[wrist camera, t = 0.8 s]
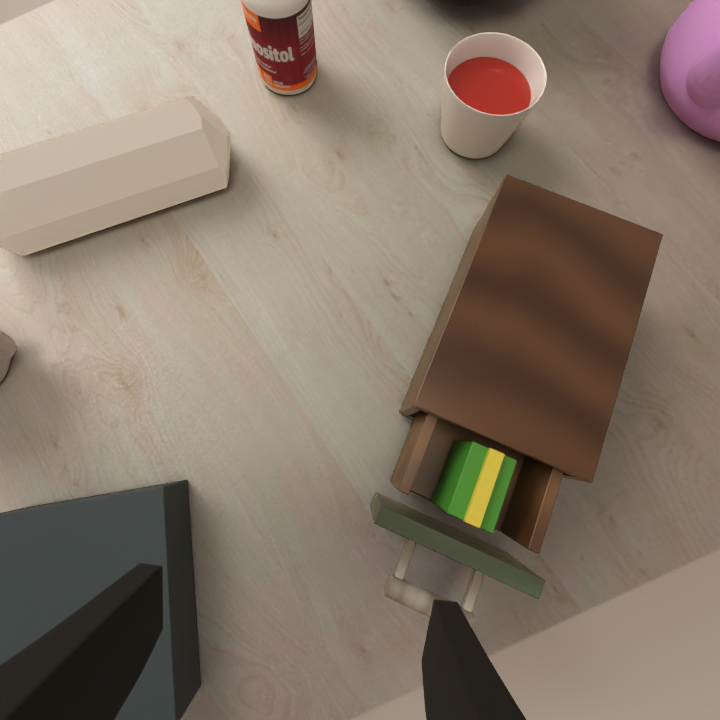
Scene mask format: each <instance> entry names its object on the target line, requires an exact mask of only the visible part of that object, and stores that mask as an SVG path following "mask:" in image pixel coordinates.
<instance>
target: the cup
mask: <svg viewBox="0 0 720 720" xmlns="http://www.w3.org/2000/svg"><path fill="white" fill-rule="evenodd" d="M17 348H18V347H17V345H16V343H15V341H14V340H13V339H11V338H10V337H8V336H6V335H3V334H2V333H1V332H0V382H1V381H2V380H3V378H4V377H5V376H6V373H7V371H8V369H9V367H10V362H11V357H12V356H13V354H14V353H15V351H16V350H17Z"/></svg>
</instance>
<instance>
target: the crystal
mask: <svg viewBox="0 0 720 720" xmlns="http://www.w3.org/2000/svg"><path fill="white" fill-rule="evenodd" d="M230 145H231V143H230V132H229V131H228V129H227V128H226V126H225V125H224V123H223V122H222V120H221V119H220V118H219V117H218V116H217V115H215V114H214V113H213V112H212V111H210V110H209V109H208V108H207V107H206V106H204V105H203V104H202V103H201V102H200V101H198V100H197V99H196V98H195V97H193V96H191V97H186V98H183V99H179V100H176V101H173V102H170V103H166V104H163V105H160V106H157V107H153V108H150V109H147V110H144V111H140V112H137V113H134V114H131V115H127V116H124V117H121V118H117V119H114V120H111V121H108V122H104V123H101V124H98V125H95V126H91V127H88V128H85V129H82V130H78V131H75V132H72V133H69V134H65V135H62V136H59V137H56V138H52V139H49V140H46V141H43V142H39V143H36V144H33V145H30V146H26V147H23V148H20V149H17V150H13V151H10V152H7V153H4V154H0V247H2V248H4V249H6V250H9V251H11V252H14V253H16V254H18V255H21V256H25V255H28V254H31V253H34V252H37V251H40V250H43V249H46V248H49V247H52V246H55V245H58V244H61V243H64V242H67V241H70V240H73V239H76V238H78V237H81V236H84V235H87V234H90V233H93V232H96V231H99V230H102V229H105V228H108V227H111V226H114V225H117V224H120V223H123V222H126V221H129V220H132V219H135V218H138V217H141V216H144V215H147V214H150V213H153V212H156V211H159V210H162V209H165V208H168V207H171V206H174V205H177V204H180V203H183V202H186V201H189V200H192V199H194V198H197V197H200V196H203V195H206V194H209V193H212V192H215V191H218V190H221V189H224V188H227V185H228V180H229V166H230Z"/></svg>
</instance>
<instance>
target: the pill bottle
mask: <svg viewBox="0 0 720 720" xmlns="http://www.w3.org/2000/svg"><path fill="white" fill-rule="evenodd" d="M241 2H242V6H243V10H244V14H245V18H246V22H247V26H248V30H249V34H250V38H251V42H252V46H253V50H254V54H255V58H256V62H257V66H258V70H259V73H260V77H261V79H262V81H263V83H264V84H265V85H266V86H267V87H268V88H269V89H270V90H272V91H274V92H276V93H279V94H283V95H294V94H299V93H302V92H304V91H305V90H307V89H308V88H309V87H310V86H311V85H312V84H313V82H314V80H315V78H316V74H317V60H316V49H315V37H314V26H313V15H312V4H311V0H241Z"/></svg>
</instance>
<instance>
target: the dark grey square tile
mask: <svg viewBox="0 0 720 720" xmlns="http://www.w3.org/2000/svg"><path fill="white" fill-rule="evenodd" d="M139 563H144V564H152V565H160V566H163V630H162V632H161V634H160V636H159V638H158V640H157V642H156V644H155V647H154V649H153V651H152V653H151V655H150V657H149V659H148V661H147V663H146V665H145V667H144V669H143V671H142V673H141V675H140V677H139V679H138V680H137V682H136V684H135V686H134V687H133V689H132V691H131V692H130V694H129V696H128V697H127V699H126V701H125V702H124V704H123V706H122V707H121V709H120V711H119V713H118V714H117V716H116V718H115V719H114V720H180V719H181V717H182V716H183V714H184V712H185V711H186V709H187V707H188V706H189V704H190V703H191V701H192V699H193V698H194V696H195V694H196V693H197V691H198V689H199V688H200V686H201V679H200V664H199V649H198V634H197V618H196V603H195V588H194V573H193V557H192V542H191V527H190V512H189V497H188V481H187V480H184V481H178V482H172V483H166V484H160V485H154V486H149V487H143V488H137V489H131V490H125V491H119V492H114V493H108V494H102V495H96V496H90V497H84V498H79V499H73V500H67V501H61V502H55V503H49V504H43V505H38V506H32V507H26V508H22V509H17V510H12V511H8V512H3V513H0V665H1V664H3V663H4V662H6V661H7V660H9V659H10V658H11V657H13V656H14V655H16V654H17V653H19V652H20V651H21V650H23V649H24V648H26V647H27V646H29V645H30V644H32V643H33V642H34V641H36V640H37V639H39V638H40V637H41V636H43V635H44V634H45V633H47V632H48V631H50V630H51V629H52V628H54V627H55V626H56V625H58V624H59V623H60V622H62V621H63V620H64V619H66V618H67V617H69V616H70V615H71V614H73V613H74V612H75V611H77V610H78V609H79V608H81V607H82V606H83V605H85V604H86V603H87V602H89V601H90V600H91V599H93V598H94V597H95V596H97V595H98V594H99V593H101V592H102V591H103V590H104V589H106V588H107V587H108V586H110V585H111V584H112V583H114V582H115V581H116V580H118V579H119V578H120V577H122V576H123V575H124V574H126V573H127V572H128V571H130V570H131V569H132V568H134V567H135V566H137V565H138V564H139Z"/></svg>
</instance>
